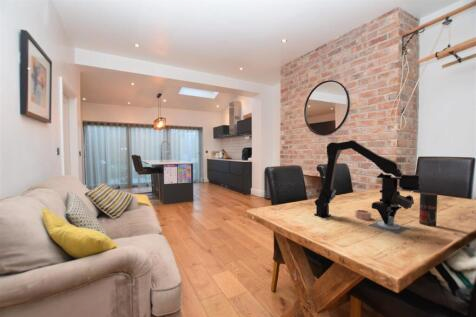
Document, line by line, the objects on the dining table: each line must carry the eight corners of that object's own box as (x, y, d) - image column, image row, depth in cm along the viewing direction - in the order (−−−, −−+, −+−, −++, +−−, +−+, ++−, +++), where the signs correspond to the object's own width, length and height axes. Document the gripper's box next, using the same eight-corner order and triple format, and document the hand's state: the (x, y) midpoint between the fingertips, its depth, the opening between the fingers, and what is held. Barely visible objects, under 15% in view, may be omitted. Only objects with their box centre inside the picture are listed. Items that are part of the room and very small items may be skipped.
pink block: (365, 222, 104) (366, 214, 104) (352, 218, 110) (353, 211, 110) (372, 219, 108) (373, 212, 108) (359, 216, 113) (360, 209, 113)
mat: (397, 235, 88) (397, 234, 88) (367, 226, 98) (367, 225, 98) (410, 229, 94) (410, 228, 94) (380, 222, 105) (380, 220, 105)
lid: (395, 231, 90) (395, 221, 90) (373, 225, 98) (373, 216, 97) (403, 227, 95) (404, 217, 95) (382, 222, 102) (383, 212, 102)
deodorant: (419, 222, 104) (420, 191, 103) (435, 225, 100) (436, 193, 99) (419, 226, 99) (420, 194, 98) (436, 229, 95) (437, 195, 94)
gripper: (401, 194, 84) (400, 233, 84) (420, 189, 93) (419, 224, 94) (371, 189, 93) (370, 224, 94) (391, 185, 103) (390, 217, 104)
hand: (388, 222), depth 96 cm, fingers open, 4 cm apart
